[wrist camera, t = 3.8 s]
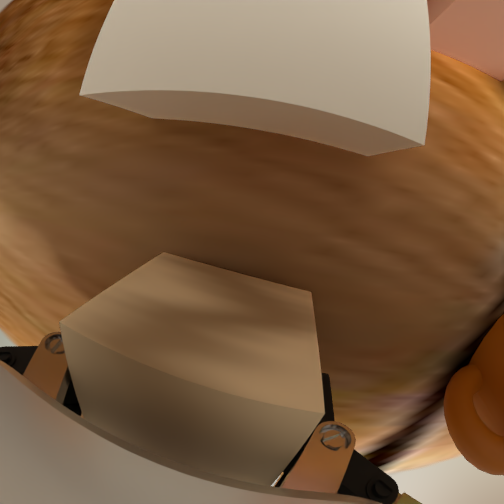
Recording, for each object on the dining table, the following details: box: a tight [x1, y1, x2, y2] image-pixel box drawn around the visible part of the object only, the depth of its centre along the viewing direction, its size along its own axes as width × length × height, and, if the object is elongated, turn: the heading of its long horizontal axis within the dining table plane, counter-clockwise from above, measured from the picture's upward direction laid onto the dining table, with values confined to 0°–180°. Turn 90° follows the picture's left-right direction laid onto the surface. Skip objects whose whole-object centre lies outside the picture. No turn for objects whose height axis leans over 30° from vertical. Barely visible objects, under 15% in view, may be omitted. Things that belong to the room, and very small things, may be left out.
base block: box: [79, 0, 431, 156], centre depth 6 cm, size 9×9×5 cm
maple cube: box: [59, 252, 325, 486], centre depth 8 cm, size 6×6×6 cm
